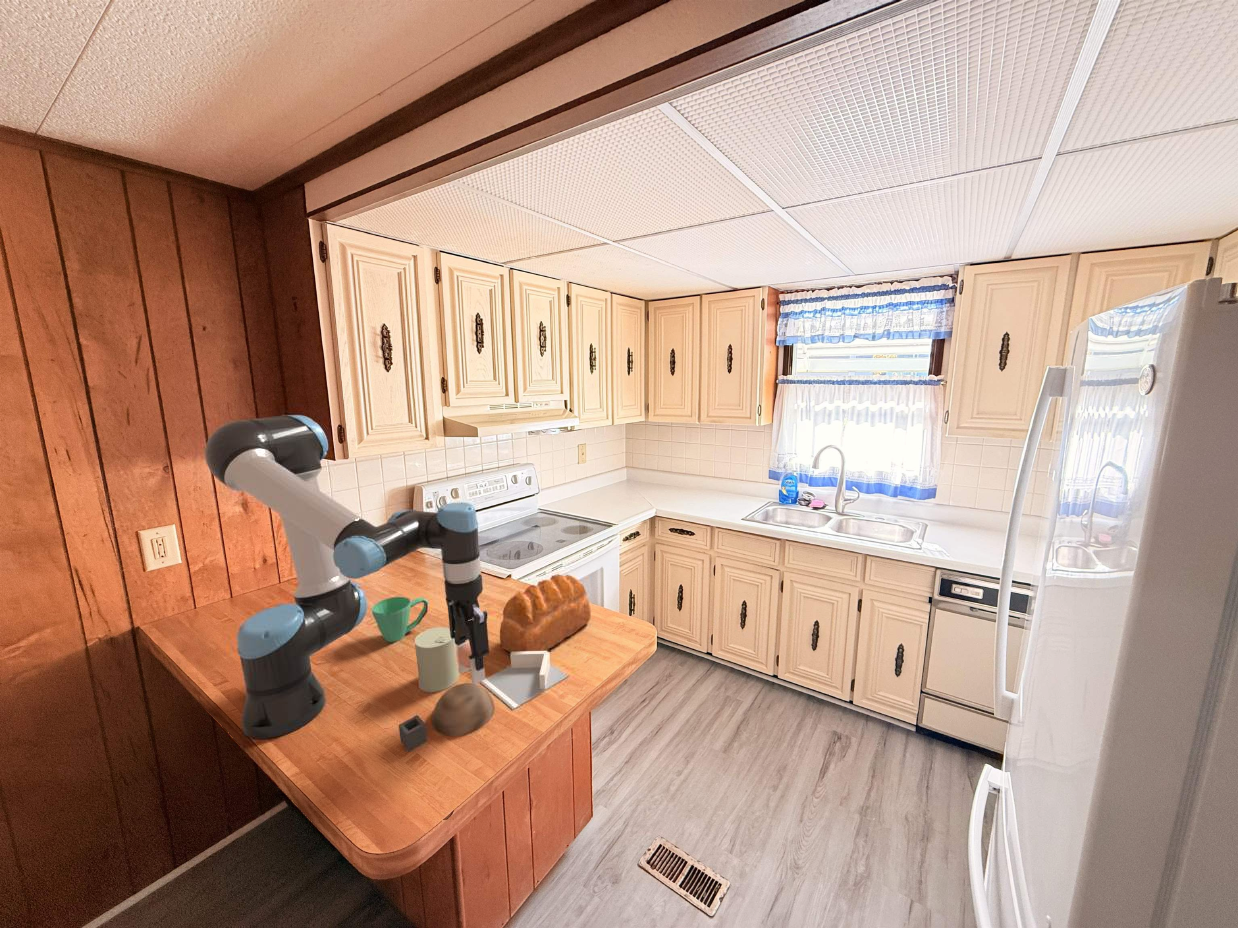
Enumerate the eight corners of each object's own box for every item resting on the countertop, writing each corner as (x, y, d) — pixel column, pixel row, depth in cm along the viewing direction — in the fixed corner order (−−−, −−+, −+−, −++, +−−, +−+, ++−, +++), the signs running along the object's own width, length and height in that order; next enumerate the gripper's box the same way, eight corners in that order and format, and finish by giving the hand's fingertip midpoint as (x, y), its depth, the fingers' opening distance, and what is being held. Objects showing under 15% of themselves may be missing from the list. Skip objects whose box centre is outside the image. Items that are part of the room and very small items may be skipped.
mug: (381, 651, 129) (376, 617, 127) (371, 636, 136) (367, 603, 134) (435, 632, 138) (432, 600, 136) (424, 619, 145) (421, 588, 144)
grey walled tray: (513, 709, 106) (512, 693, 105) (480, 682, 116) (478, 667, 115) (568, 676, 117) (568, 661, 116) (534, 653, 127) (533, 639, 126)
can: (435, 697, 111) (430, 650, 108) (410, 683, 115) (405, 638, 113) (467, 675, 118) (463, 631, 116) (442, 664, 123) (438, 621, 121)
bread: (494, 647, 130) (490, 594, 127) (562, 608, 151) (560, 561, 148) (530, 664, 122) (526, 608, 119) (596, 621, 142) (595, 572, 139)
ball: (466, 675, 101) (464, 654, 100) (454, 665, 105) (453, 645, 104) (487, 664, 105) (485, 644, 104) (475, 655, 108) (473, 635, 107)
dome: (453, 775, 98) (447, 719, 95) (424, 742, 106) (419, 690, 104) (507, 739, 107) (504, 688, 104) (477, 711, 116) (473, 663, 113)
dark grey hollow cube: (408, 751, 95) (406, 734, 94) (400, 741, 97) (398, 724, 97) (427, 741, 97) (425, 723, 97) (419, 731, 100) (417, 714, 99)
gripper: (502, 582, 97) (509, 685, 102) (458, 560, 110) (467, 652, 114) (468, 595, 92) (478, 702, 96) (426, 570, 104) (437, 666, 109)
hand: (472, 675), depth 105 cm, fingers closed on ball, 5 cm apart
